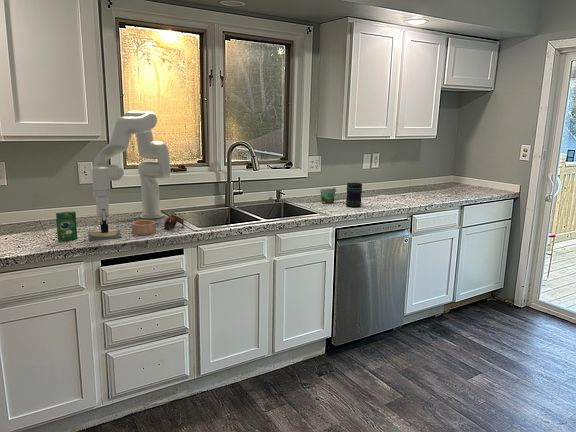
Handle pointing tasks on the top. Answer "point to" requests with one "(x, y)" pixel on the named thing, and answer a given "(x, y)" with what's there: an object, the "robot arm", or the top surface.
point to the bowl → (143, 227)
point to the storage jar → (354, 195)
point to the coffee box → (66, 226)
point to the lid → (104, 233)
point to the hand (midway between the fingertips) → (104, 230)
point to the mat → (105, 238)
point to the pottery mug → (172, 222)
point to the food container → (327, 196)
